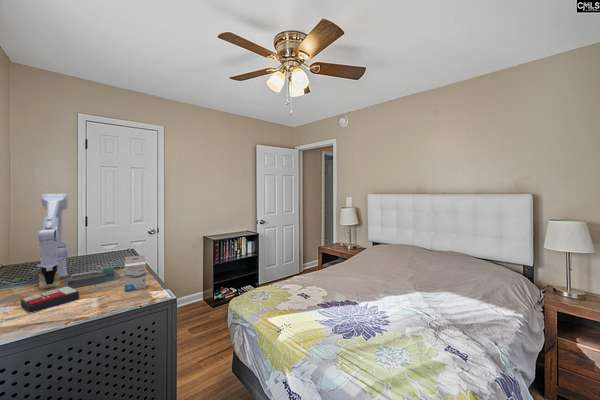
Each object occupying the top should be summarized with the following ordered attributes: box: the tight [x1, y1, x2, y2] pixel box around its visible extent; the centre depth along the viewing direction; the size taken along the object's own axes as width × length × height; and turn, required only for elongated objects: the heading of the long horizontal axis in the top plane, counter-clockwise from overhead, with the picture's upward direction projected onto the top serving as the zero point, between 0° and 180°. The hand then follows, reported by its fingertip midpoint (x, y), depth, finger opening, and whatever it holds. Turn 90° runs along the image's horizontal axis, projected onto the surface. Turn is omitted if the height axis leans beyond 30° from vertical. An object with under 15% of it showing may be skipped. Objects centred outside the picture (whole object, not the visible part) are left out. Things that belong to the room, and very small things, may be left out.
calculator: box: [20, 286, 80, 313], centre depth 107 cm, size 11×4×15 cm
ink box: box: [124, 254, 147, 292], centre depth 123 cm, size 8×5×15 cm, turn 123°
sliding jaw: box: [71, 265, 115, 279], centre depth 138 cm, size 3×18×4 cm, turn 134°
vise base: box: [63, 270, 123, 289], centre depth 134 cm, size 19×22×4 cm
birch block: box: [38, 272, 61, 290], centre depth 124 cm, size 4×7×6 cm, turn 134°
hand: (49, 282), depth 124 cm, fingers closed on birch block, 4 cm apart
